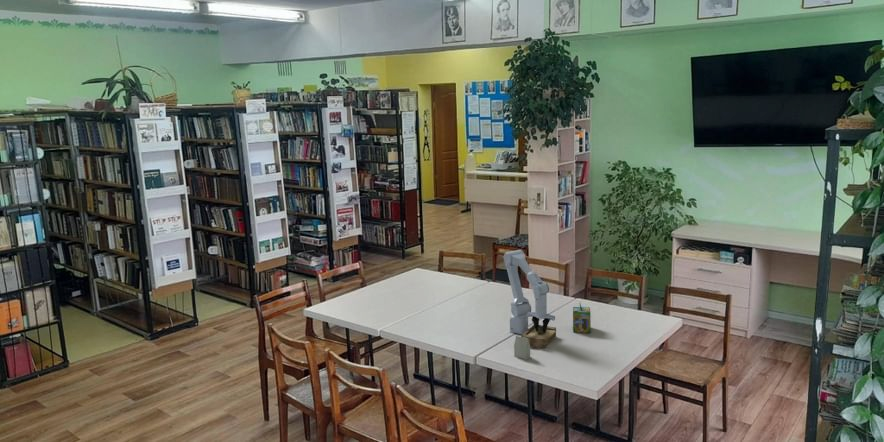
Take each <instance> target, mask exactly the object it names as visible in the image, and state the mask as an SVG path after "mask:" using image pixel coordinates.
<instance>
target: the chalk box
mask: <svg viewBox="0 0 884 442" xmlns="http://www.w3.org/2000/svg"><path fill="white" fill-rule="evenodd" d="M591 317H592V316H591V307H590V306H589V307H587V306H582V304H581V302H579V306H572V332H573V333H588V334H589V333H590V334H591V331H592V330H591V329H592V328H591V323H592V322H591V320H592V319H591Z"/></svg>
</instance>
